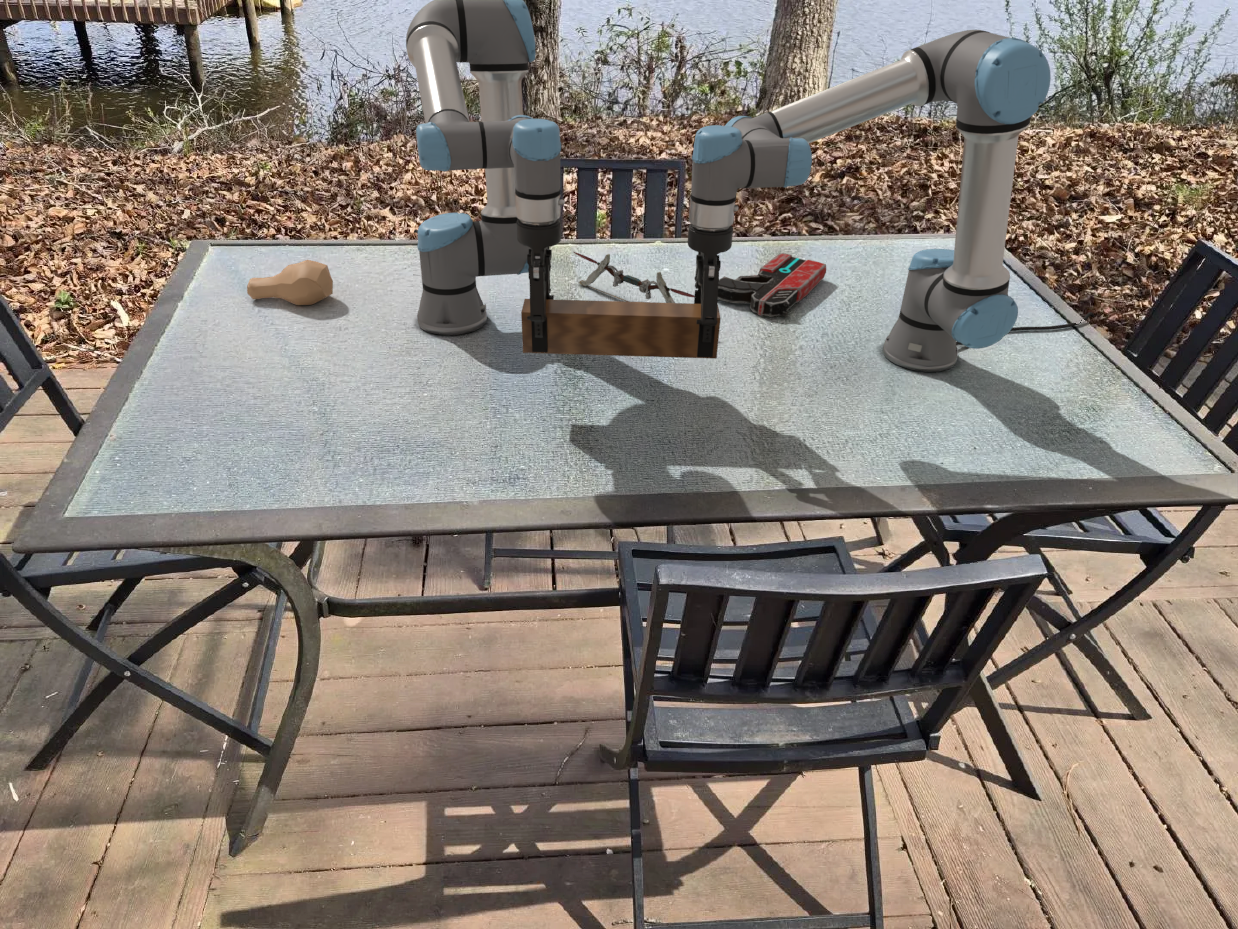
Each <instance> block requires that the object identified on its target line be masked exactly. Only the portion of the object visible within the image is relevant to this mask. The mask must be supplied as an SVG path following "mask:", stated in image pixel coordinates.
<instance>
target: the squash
mask: <svg viewBox="0 0 1238 929" xmlns="http://www.w3.org/2000/svg"><path fill="white" fill-rule="evenodd" d="M333 289H334V280H333V277H332V276H331V272H330V268H329V266H328V264H325V263H322V262H319V261H316V260H311V259H305V260H302V261H300V262H297V263H291V264H288V265H286V267H284V268H283V269H282V270H281V272H279V273H277V274H275V275H274V276H266V277H252V278H249V281H248V283H247V285H246V292H247V295H248V296H249V297H250V298H251V299H252V300H260V299H271V298H276V299H281V300H284V301H286V302H288V303H291V304H293V305H295V306H312V305H314V304H316V303H318V302H320V301H322V300H325V299H327V298H328V297H329V296H331V295H333V294H334V292H333V291H334V290H333Z"/></svg>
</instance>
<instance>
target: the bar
mask: <svg viewBox="0 0 1238 929" xmlns="http://www.w3.org/2000/svg"><path fill="white" fill-rule="evenodd" d="M520 316H521V318H520V319H521V340H522V353H523V354H546V355H581V356H582V355H583V356H614V357H615V356H616V357H647V358H648V357H651V358H683V359H684V358H687V359H718V348H719V339H720V326H721V319H722V318H721V313H720V309H719V304H718V303H717V321H718V322H717V325H716V326H715V335H714V347H713V357H697V348H698V334H699V324H696V321H697V320H700V319H701V304H694V303H689V302H688V303H687V302H675V303H666V302H656V301H655V302H652V301H651V302H650V301H629V302H626V301H622V300H620V301H617V300H585V299H584V300H583V299H581V300H580V299H554V300H553V299H546V316H547V340H548V352H547V353H545V352H532V325H531V320H527V316H530V298H524V300H523V305H522V308H521V312H520Z"/></svg>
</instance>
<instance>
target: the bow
mask: <svg viewBox="0 0 1238 929" xmlns="http://www.w3.org/2000/svg"><path fill="white" fill-rule="evenodd" d="M573 254H574V255H577V256H578V257H580V258H582V259H584V260H586V261H588V262H590V263H593V264H596V265H597V268H595V270H593V271H592V272H591V273H590V274H589V275H588V276H587V278H586V280H583V279H582V280H579V281H578V284H579V285H580V286H583V287H589V288H591V289H593V290H596V291H599V292H600V293H604V294H606V295H609V296H612V297H614V298H617V299H619V300H620V301H623V302H630V301H628V300H626V299H623V298H621V297H618V296H616V295H613V294H611V293H609V292H606V291H604V290H601V289H598V288H596V287H593V286H590V285H591V284H594V283H595V281H596V280H597V279H598V278H599V277H600V276H601V275H602V274H603V273H604V272H606V271H607V272H608V273H609V274H610V275H611V276H612V277H613V282H612V287H613V288H616V287H619V285H621V284H624V283H628V284H630V285H633V286H636V287H638V290H639V292H640V293H642V294H645V295H644V296H645V298H644V299H645V300H651V299H652V293H651V291H653V290H659V292H660V293H661V295H662V297H663V298H664V301H665V303H676V302H675V300H674V298H673V297H672V295H671V293H670V292H672V293H674V294H678V295H680V296H684V297H688V298H694V296H695V294H694V295H693V294H692V293H689V292H685V291H683V290H681V289H677V288H672V287H671V288H670V287H668V285H667V282H666V281H665V279H664V278H663V274H662V271H657V272H656V278H655V279H656V281H655V280H651V281H650V280H649V278H646V279H645V280H641V279H640V278H637V277H635V276H632V275H629V274H626V275H625V274H624V270H623V269H620V270H618V269H617V268H616V267H615V266H614V265H612V264H611V265H610V262H611V254H610V253H607V254H605V255H604V258H603V259H602V260H601V261H600V262H598V261H596V260H595V259H593V258H591V257H589V256H588V255H587V256H586V255H584V254H582V253H579V252H576V251H573Z"/></svg>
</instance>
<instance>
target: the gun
mask: <svg viewBox="0 0 1238 929" xmlns="http://www.w3.org/2000/svg"><path fill="white" fill-rule="evenodd" d="M826 273H827V264H826V263H823V262H820V261H816V260H812V259H802V258H799V257H795V256H793V255H792V254H791V253H784V252H780V253H778V254H777V255H775V256H774V257H773V258H771V259H770V260H768V261H767V262H766V263H765V264H763V265H762V266H761V267H760V269H759V271H758V273H757V274H756V275H753V274H752V275H751V274H750V275H740V276H738V277H737V278H735V279H734V278H731V277H727V276H722V277H720V278H719V283H718V300H719V301H723V302H727V303H730V304H750V305H749V308H750V310H751V312H753V313H755V314H757V315H758V316H760V317H761V316H765V317H770V318H771V317H777V316H780V317H784V318H787V317H788V315H789V311H788V310H790V309H791V308H792V307H793V306H794V305H795V304H798V303H799V302H801V301H802V300H803V299H804V298H805V297H807V296H808V295H809V294H810V293H811V292H812V291H813V290H814V289H815V287H817V285H818V284H820V283H821V282H822V280H823V279H824V278H825V276H826Z"/></svg>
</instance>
